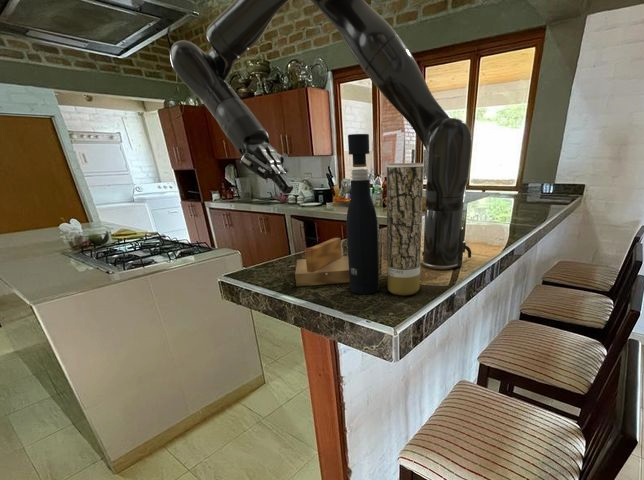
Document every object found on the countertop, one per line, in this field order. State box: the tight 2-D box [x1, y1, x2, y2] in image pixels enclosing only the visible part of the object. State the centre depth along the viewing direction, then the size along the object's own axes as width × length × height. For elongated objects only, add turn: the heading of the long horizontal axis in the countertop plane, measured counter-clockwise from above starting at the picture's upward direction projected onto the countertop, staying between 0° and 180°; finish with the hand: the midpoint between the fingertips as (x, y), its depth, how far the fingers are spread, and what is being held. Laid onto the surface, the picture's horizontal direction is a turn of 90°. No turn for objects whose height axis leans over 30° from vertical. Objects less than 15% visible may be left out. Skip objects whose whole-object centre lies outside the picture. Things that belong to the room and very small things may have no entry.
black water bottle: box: [345, 133, 380, 295], centre depth 67 cm, size 6×6×30 cm
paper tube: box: [386, 162, 425, 297], centre depth 66 cm, size 7×7×25 cm
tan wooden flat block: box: [304, 237, 343, 272], centre depth 80 cm, size 13×2×5 cm, turn 155°
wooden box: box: [288, 255, 350, 287], centre depth 82 cm, size 17×17×3 cm
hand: (289, 191), depth 73 cm, fingers closed
